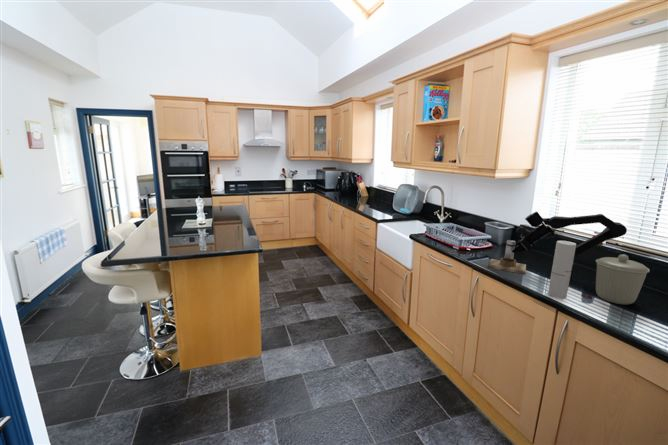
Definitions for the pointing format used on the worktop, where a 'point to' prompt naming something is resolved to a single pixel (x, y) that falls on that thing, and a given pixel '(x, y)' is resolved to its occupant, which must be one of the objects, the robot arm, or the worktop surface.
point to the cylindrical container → (561, 269)
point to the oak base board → (518, 269)
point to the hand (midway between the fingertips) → (512, 250)
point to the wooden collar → (507, 263)
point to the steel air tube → (509, 250)
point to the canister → (619, 279)
